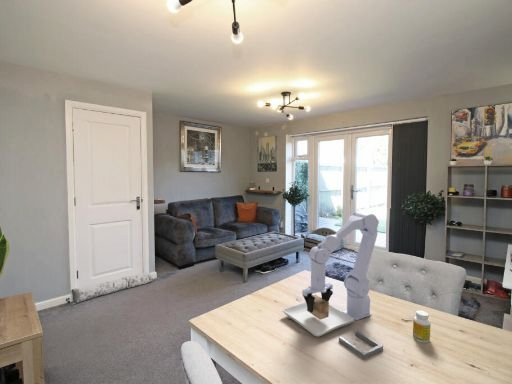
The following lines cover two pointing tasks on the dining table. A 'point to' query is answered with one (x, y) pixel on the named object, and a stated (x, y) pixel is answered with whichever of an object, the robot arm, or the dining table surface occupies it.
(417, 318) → the supplement bottle
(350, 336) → the dining table surface
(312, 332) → the salad plate
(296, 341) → the dining table surface
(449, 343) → the dining table surface
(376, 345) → the bay
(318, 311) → the tan cardboard box
